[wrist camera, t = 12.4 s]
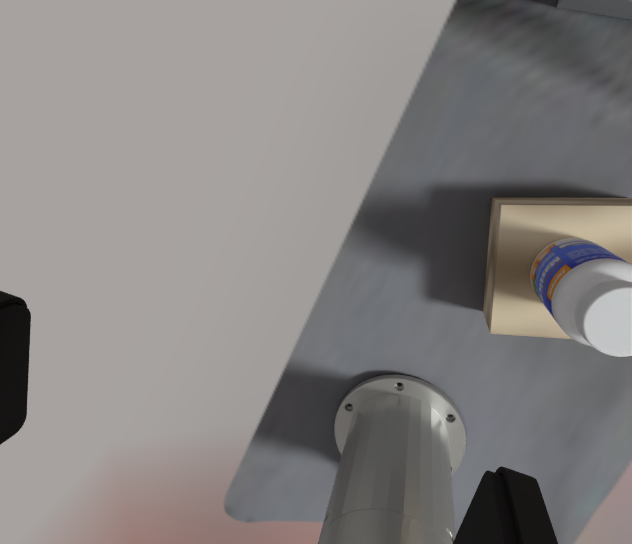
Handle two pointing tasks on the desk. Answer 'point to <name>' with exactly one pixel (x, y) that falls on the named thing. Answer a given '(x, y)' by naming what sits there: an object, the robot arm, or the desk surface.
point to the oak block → (529, 240)
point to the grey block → (600, 7)
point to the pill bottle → (587, 293)
